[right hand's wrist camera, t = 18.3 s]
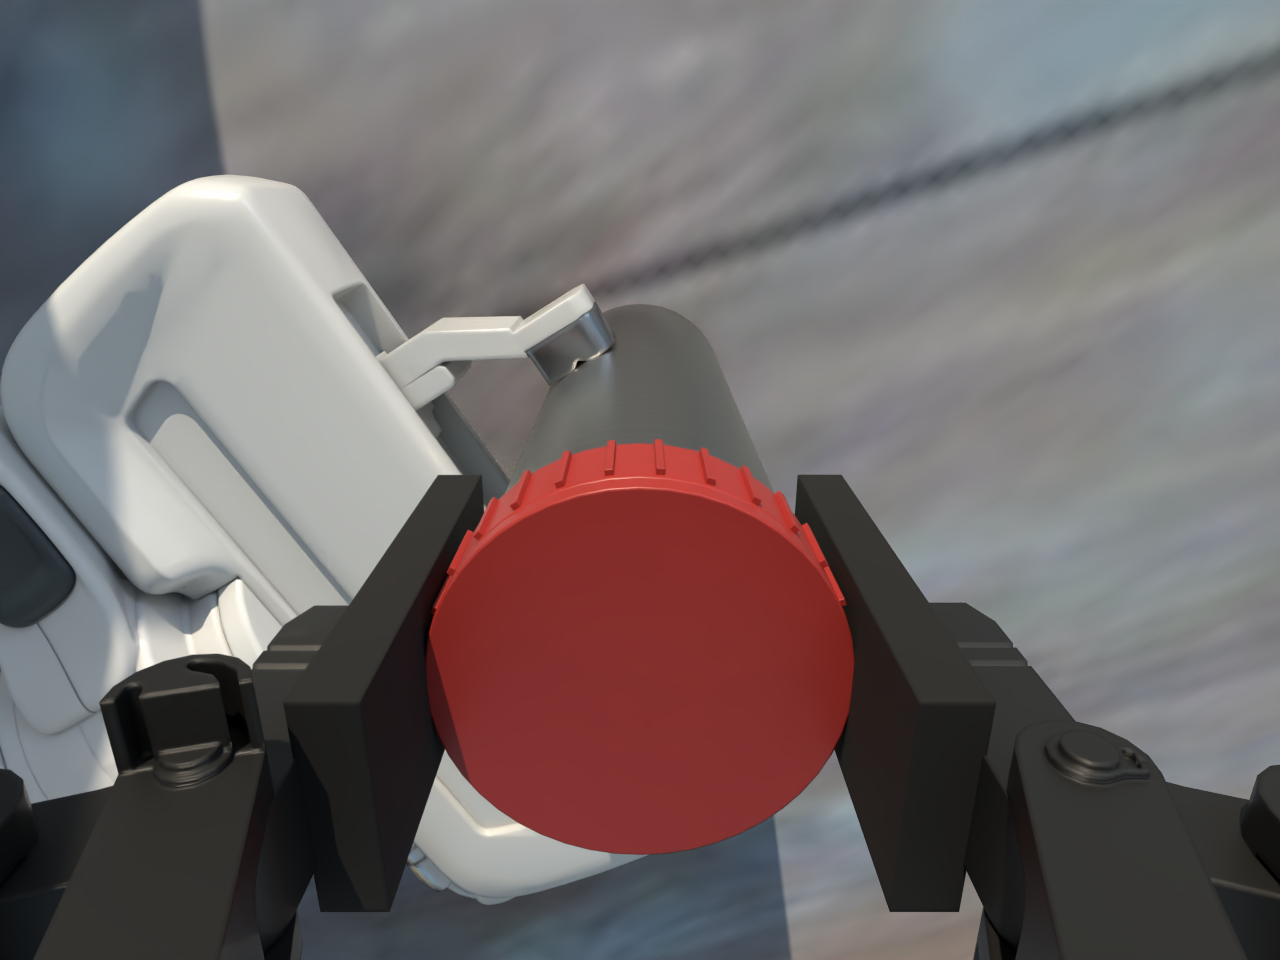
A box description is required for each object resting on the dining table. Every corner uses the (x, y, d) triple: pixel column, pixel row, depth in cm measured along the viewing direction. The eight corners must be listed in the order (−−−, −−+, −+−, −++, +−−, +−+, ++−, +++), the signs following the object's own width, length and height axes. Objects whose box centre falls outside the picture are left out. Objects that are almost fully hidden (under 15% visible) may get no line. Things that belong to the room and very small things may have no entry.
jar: (536, 427, 26) (404, 745, 12) (594, 277, 25) (525, 424, 10) (681, 483, 27) (732, 852, 12) (746, 342, 25) (896, 568, 11)
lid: (910, 587, 12) (954, 652, 10) (672, 830, 13) (676, 921, 12) (598, 353, 11) (591, 385, 9) (376, 651, 12) (335, 723, 11)
